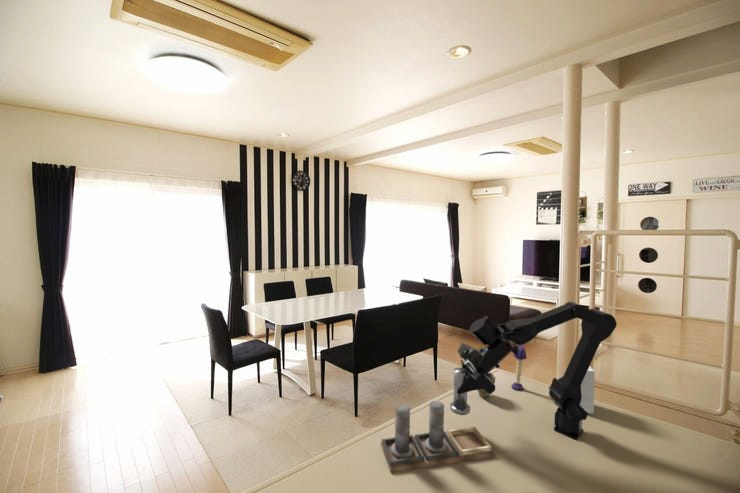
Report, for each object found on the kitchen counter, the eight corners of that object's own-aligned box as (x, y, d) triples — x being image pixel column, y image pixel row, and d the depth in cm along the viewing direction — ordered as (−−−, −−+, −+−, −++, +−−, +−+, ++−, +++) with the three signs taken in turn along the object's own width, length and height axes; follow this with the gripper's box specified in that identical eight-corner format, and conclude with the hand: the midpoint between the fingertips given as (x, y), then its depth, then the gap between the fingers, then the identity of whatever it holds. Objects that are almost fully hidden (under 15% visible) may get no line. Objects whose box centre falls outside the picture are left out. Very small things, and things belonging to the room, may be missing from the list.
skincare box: (594, 414, 112) (596, 372, 111) (573, 411, 114) (576, 369, 112) (586, 401, 120) (588, 361, 119) (567, 398, 122) (569, 359, 120)
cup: (497, 401, 120) (498, 380, 119) (477, 401, 120) (477, 379, 119) (490, 390, 127) (491, 370, 126) (471, 390, 127) (471, 370, 127)
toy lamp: (524, 386, 130) (526, 345, 129) (525, 392, 126) (527, 349, 125) (511, 384, 132) (512, 343, 131) (511, 390, 128) (513, 348, 126)
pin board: (473, 431, 103) (475, 389, 102) (493, 456, 92) (495, 410, 91) (380, 444, 97) (380, 400, 96) (390, 472, 86) (391, 423, 85)
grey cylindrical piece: (473, 408, 103) (474, 370, 102) (464, 417, 99) (465, 377, 98) (455, 401, 107) (456, 364, 106) (446, 409, 103) (447, 370, 102)
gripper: (466, 326, 110) (432, 358, 111) (485, 348, 92) (444, 386, 93) (489, 349, 111) (455, 380, 112) (512, 375, 92) (472, 413, 93)
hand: (456, 388), depth 102 cm, fingers closed on grey cylindrical piece, 4 cm apart
